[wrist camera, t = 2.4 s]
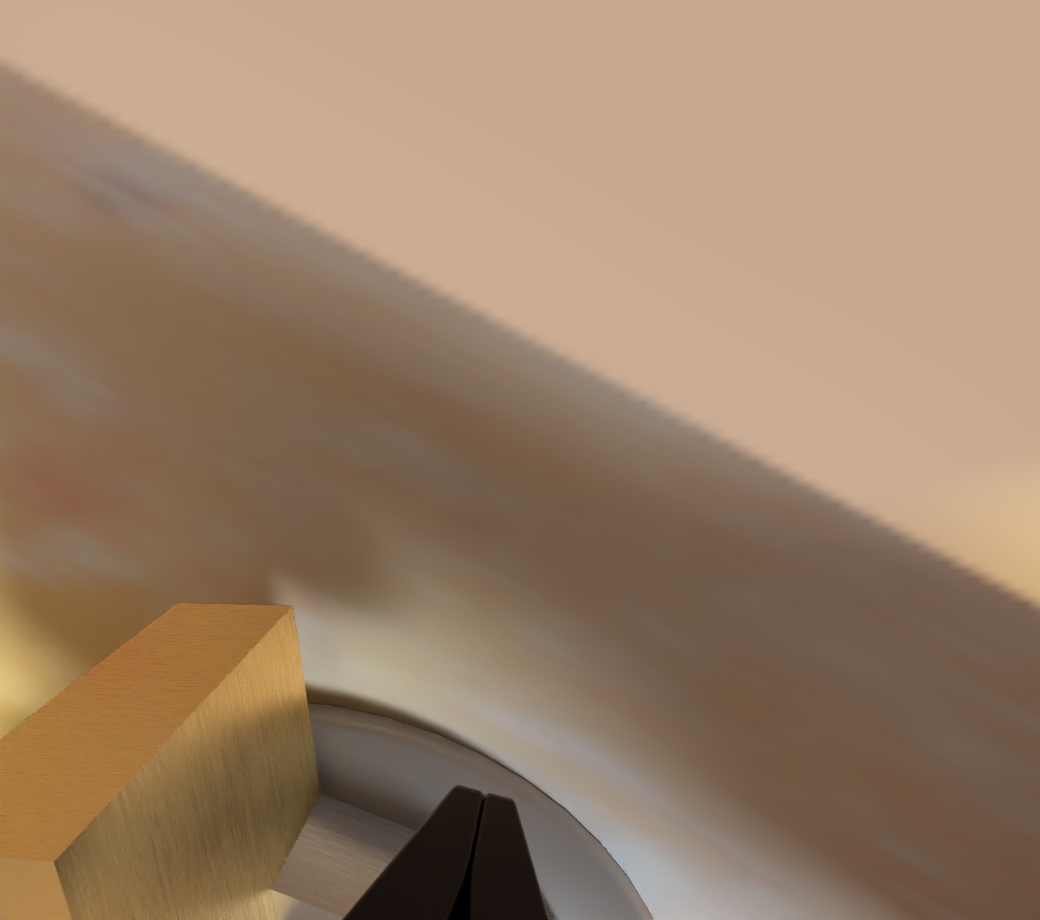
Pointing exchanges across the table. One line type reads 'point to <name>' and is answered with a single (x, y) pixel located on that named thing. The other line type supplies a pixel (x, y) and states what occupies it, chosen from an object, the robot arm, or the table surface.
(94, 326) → the table surface
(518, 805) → the housing
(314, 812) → the grey tan block cluster
